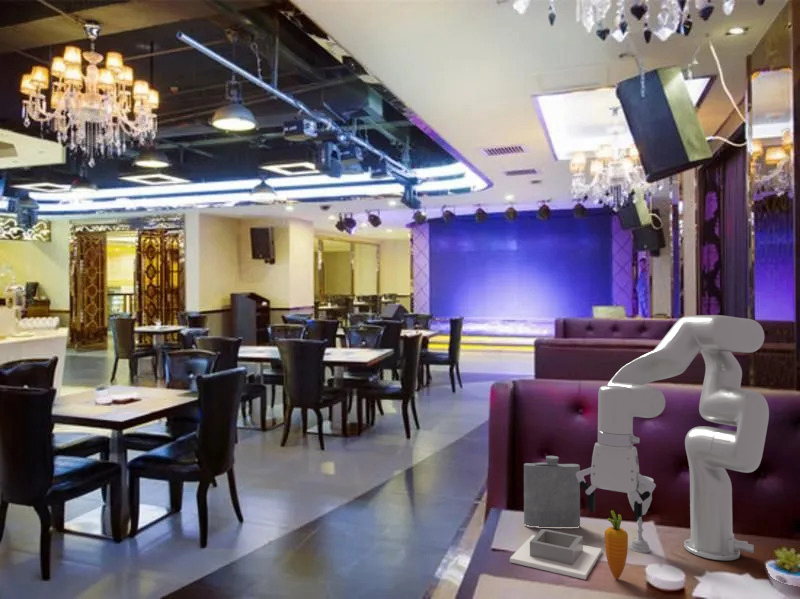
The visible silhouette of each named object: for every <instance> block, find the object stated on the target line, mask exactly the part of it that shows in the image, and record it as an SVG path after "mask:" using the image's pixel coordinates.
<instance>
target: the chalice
mask: <svg viewBox="0 0 800 599" xmlns="http://www.w3.org/2000/svg"><path fill="white" fill-rule="evenodd" d="M643 476H644V477H645V478H647V479H648V480H650V481H652V482H653V483H654V482H655V481H654V478H652V477H649V476H646V475H643ZM638 490H639V491H640V493H641V494H642V493H644V492H645V491H646V490H647V486H646V485H644V484H643V483H641V482H640V481H639V488H638ZM652 494H653V492H652V493H651V495H650V497H648V498H647V499H646V500H644V501H643V502H642V517H639V520H638V521H636V523H637V528H636V531H637V536H636V537H635V538H633V539H632V542H631V543H630V546H629V549H630V550H631V551H634V552H636V553H637V552H638V553H641V554H642V553H650V552H651V548H650V545H649V543H648V541H647V539H645V538H644V537H643V532H644V529H643V527H642V526H643V524H644V522H643V519H642V518H643V516H644V515H646V514H647V513H648V509H649V508H650V506H651V503H652V500H653V495H652ZM627 498H628V502H629V504H630V507H631V509H632V511H633V512H634V503H635V501H636V500H635V499H634V497H633V496H632V495H631V493H627Z"/></svg>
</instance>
